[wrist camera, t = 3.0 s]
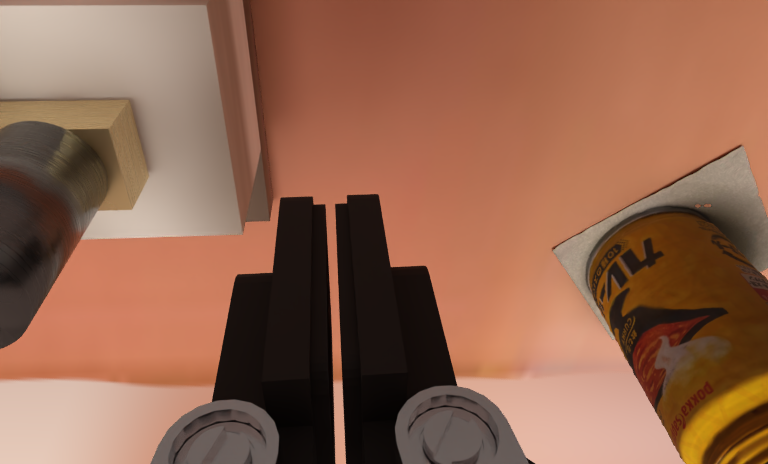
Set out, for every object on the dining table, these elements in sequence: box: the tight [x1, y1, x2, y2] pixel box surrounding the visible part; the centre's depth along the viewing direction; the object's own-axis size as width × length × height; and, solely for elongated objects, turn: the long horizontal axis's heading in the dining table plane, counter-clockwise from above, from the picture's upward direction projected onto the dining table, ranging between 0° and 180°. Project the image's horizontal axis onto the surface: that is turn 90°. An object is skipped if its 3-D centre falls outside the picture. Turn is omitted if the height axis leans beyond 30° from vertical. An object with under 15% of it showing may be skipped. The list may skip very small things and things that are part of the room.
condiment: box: [552, 146, 768, 464], centre depth 21 cm, size 7×8×12 cm
